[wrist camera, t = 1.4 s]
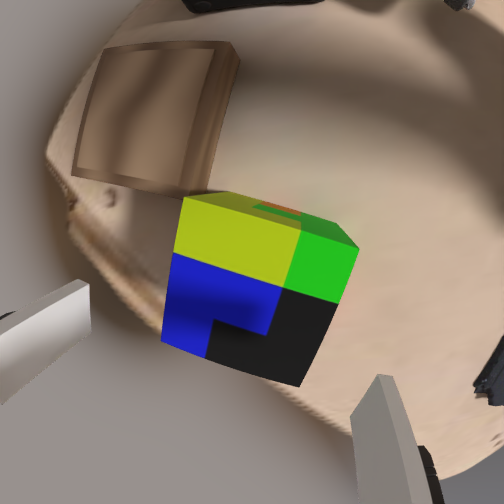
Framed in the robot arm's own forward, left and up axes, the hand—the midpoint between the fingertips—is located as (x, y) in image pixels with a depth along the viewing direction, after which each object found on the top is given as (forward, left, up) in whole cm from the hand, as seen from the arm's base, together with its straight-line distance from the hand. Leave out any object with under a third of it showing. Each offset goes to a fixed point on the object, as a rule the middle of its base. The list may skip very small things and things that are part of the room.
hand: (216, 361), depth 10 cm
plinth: (+14, -11, -16) cm, 24 cm away
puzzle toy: (0, 0, -16) cm, 16 cm away
